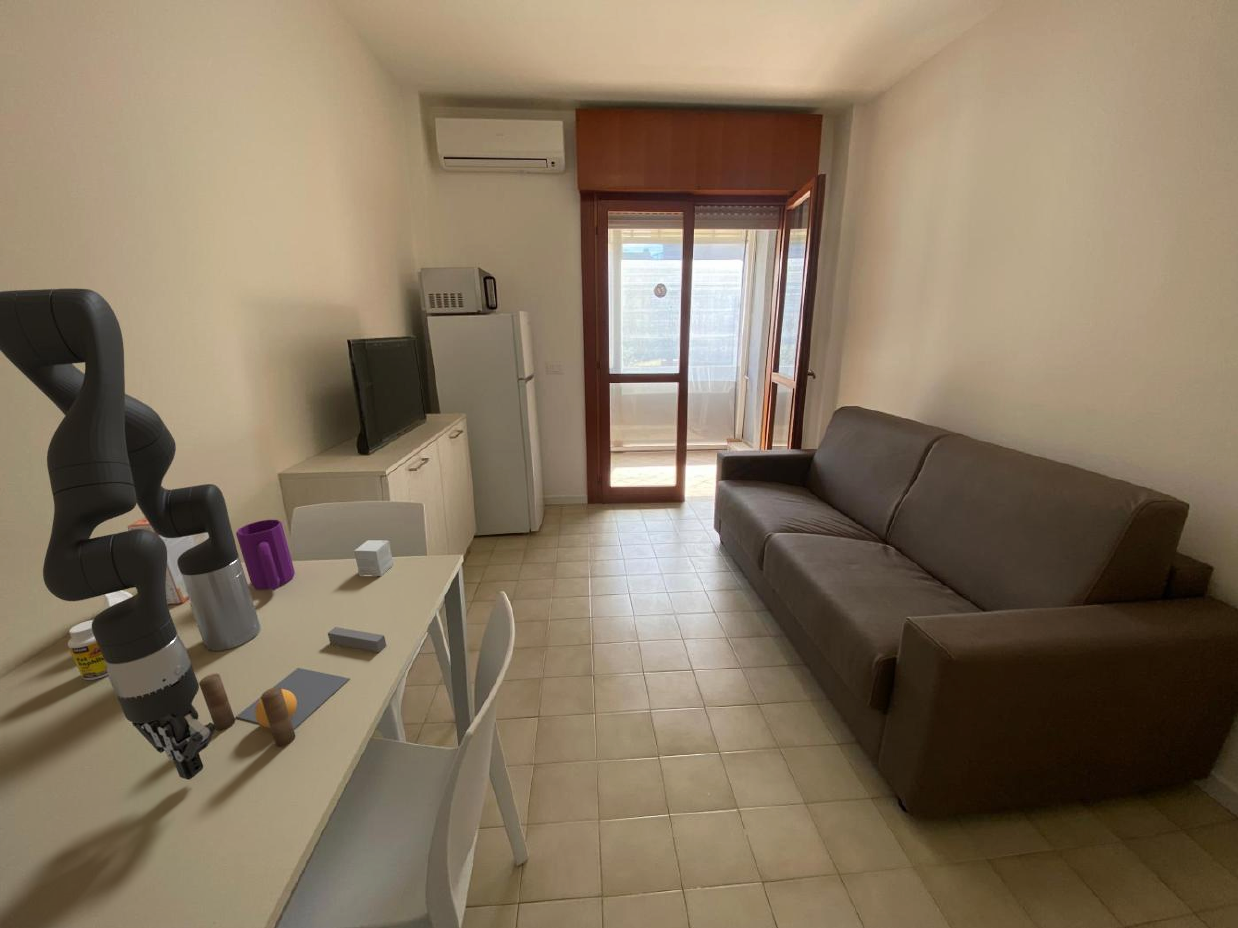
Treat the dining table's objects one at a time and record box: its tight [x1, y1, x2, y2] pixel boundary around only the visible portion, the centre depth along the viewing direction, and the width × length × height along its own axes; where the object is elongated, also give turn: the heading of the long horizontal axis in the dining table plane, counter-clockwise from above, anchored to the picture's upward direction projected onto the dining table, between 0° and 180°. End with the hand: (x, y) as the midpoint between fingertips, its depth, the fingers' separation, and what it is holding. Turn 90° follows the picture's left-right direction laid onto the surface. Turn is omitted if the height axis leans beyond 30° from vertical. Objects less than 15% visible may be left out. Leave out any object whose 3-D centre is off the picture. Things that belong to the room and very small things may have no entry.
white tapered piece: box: [99, 590, 133, 613], centre depth 103 cm, size 6×12×6 cm
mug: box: [235, 519, 296, 591], centre depth 120 cm, size 9×16×15 cm, turn 38°
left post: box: [198, 673, 236, 732], centre depth 80 cm, size 3×3×9 cm
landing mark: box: [235, 667, 351, 731], centre depth 86 cm, size 12×12×1 cm
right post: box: [260, 687, 296, 748], centre depth 76 cm, size 3×3×9 cm
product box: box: [353, 539, 394, 577], centre depth 127 cm, size 6×6×7 cm
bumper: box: [327, 626, 387, 653], centre depth 99 cm, size 12×2×2 cm, turn 74°
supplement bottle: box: [67, 619, 108, 681], centre depth 93 cm, size 6×6×10 cm
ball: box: [255, 689, 297, 728], centre depth 80 cm, size 6×6×6 cm
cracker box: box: [126, 516, 209, 606], centre depth 119 cm, size 14×6×21 cm, turn 5°
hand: (192, 773), depth 71 cm, fingers closed
